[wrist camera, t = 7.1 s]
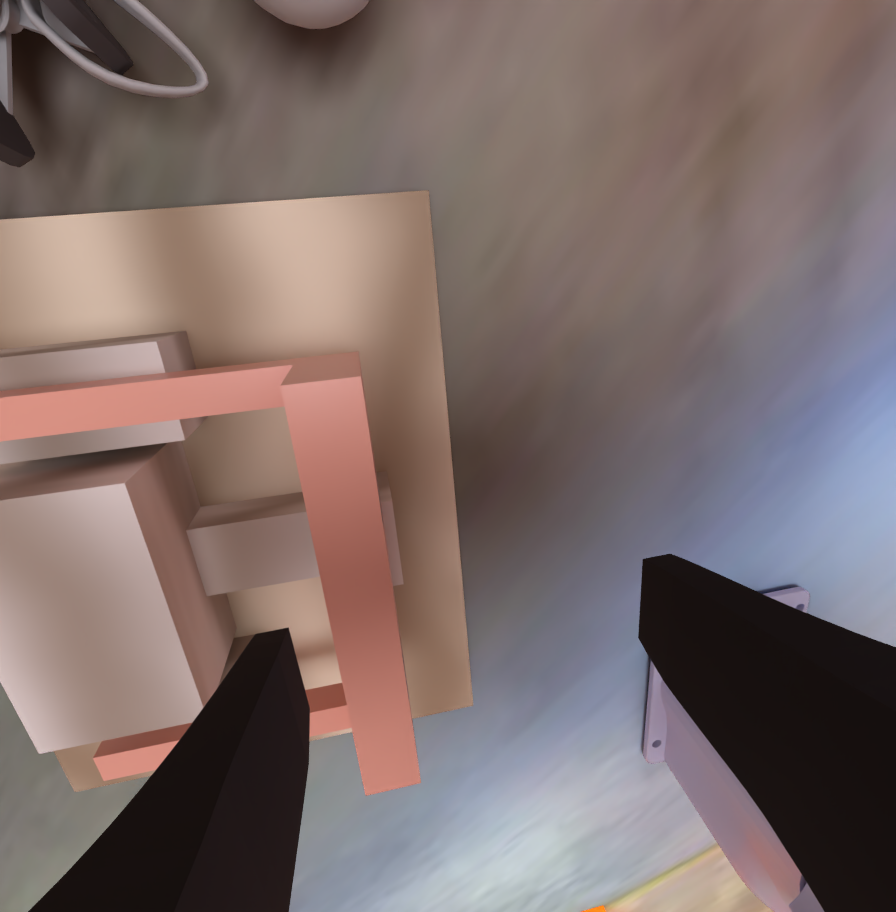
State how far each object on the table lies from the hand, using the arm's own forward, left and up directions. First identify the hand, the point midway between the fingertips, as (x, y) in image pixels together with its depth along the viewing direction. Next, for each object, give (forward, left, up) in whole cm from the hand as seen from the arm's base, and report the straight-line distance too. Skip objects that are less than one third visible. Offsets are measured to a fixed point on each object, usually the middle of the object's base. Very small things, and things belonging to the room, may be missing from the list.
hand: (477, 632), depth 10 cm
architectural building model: (-1, +7, -9) cm, 12 cm away
